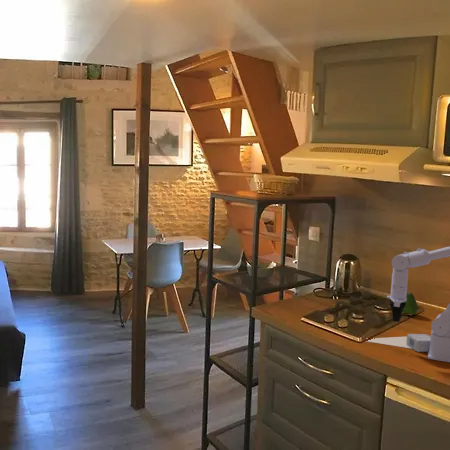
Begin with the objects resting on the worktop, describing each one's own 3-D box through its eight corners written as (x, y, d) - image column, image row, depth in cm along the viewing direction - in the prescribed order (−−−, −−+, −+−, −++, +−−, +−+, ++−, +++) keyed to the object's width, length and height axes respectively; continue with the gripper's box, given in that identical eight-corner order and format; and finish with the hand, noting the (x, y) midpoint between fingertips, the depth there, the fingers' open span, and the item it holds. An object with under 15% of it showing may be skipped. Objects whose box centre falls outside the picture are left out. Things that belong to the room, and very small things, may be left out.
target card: (415, 334, 210) (415, 333, 210) (413, 349, 192) (413, 348, 192) (365, 326, 217) (365, 326, 217) (359, 340, 199) (360, 340, 199)
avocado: (395, 315, 238) (397, 290, 236) (407, 314, 241) (410, 289, 239) (407, 320, 230) (409, 294, 229) (420, 319, 233) (422, 293, 232)
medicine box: (416, 352, 188) (437, 352, 190) (418, 340, 188) (439, 340, 189) (405, 344, 196) (426, 344, 197) (407, 333, 195) (427, 333, 197)
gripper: (389, 281, 198) (386, 314, 199) (386, 288, 185) (383, 324, 186) (408, 283, 195) (405, 317, 197) (407, 290, 182) (403, 327, 183)
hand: (396, 321), depth 191 cm, fingers closed
